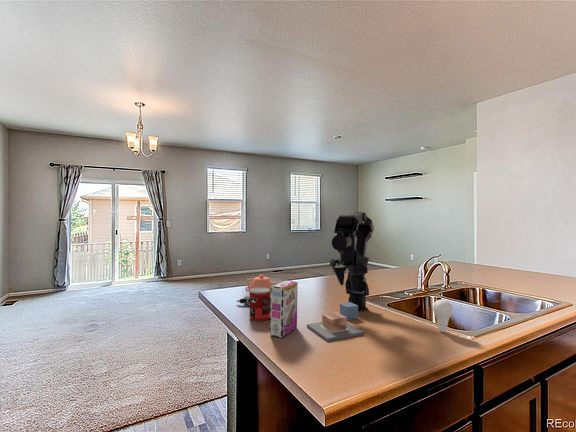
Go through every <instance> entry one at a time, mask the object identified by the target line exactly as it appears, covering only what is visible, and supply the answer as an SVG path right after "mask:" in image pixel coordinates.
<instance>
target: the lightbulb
mask: <svg viewBox="0 0 576 432" xmlns="http://www.w3.org/2000/svg"><path fill="white" fill-rule="evenodd" d="M432 310H433V314H434V315H435V317H436V319H437V324H438V331H439V332H441V333H446V332H447V331H448V325H449V320H450V318H451V316H452V314H453V312H454V307H453V305H452V304H451V303H450V302H449V301H448V300H445V299H437V300H436V301H435V302H434V303H433V306H432Z"/></svg>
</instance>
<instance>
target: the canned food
mask: <svg viewBox="0 0 576 432" xmlns="http://www.w3.org/2000/svg"><path fill="white" fill-rule="evenodd" d="M249 295H250V305H249V319H250V320H252V321H255V322H264V321H268V320H270V312H271V304H270V289H268V288H252V289H250V292H249Z"/></svg>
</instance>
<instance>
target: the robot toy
mask: <svg viewBox="0 0 576 432" xmlns="http://www.w3.org/2000/svg"><path fill="white" fill-rule="evenodd" d="M236 303H240V304H246V305H248V306H250V294H247V295H244V296H243V298H240V299H238V300H236ZM270 305H271V295H270Z"/></svg>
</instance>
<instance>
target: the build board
mask: <svg viewBox="0 0 576 432" xmlns="http://www.w3.org/2000/svg"><path fill="white" fill-rule="evenodd" d="M306 328H307V329H309V330H310V331H312V332H313V333H314V334H316V335H317V336H318V337H320V338H321V339H323V340H324V341H325V342H332V341H337V340H338V341H339V340H342V339H348V338H354V337H359V336H364V331H363V330H361V329H360V328H357V327H356V326H354V325H352V324H350V323H348V322H347V329H345V330H339V331H333V332H331V331H329V330H328V329H326V328H325V327H323V326H322V321H319V322H312V323H306Z"/></svg>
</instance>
